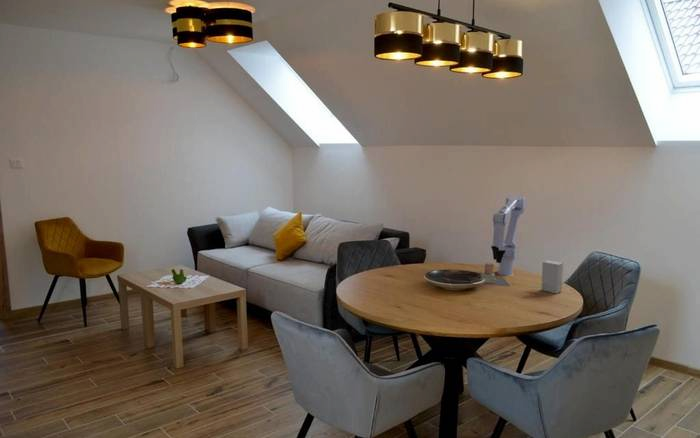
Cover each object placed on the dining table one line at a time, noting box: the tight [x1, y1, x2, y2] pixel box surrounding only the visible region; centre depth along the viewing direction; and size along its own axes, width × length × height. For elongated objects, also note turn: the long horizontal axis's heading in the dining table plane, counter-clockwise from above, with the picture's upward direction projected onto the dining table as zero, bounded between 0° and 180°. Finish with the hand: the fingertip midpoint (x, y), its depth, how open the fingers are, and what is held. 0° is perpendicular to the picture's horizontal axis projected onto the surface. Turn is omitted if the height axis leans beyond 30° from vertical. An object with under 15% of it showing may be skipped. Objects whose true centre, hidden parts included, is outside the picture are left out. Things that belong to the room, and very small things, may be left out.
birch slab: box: [479, 274, 497, 283], centre depth 278 cm, size 7×7×2 cm
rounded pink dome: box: [483, 262, 495, 275], centre depth 277 cm, size 4×4×5 cm
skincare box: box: [541, 260, 564, 294], centre depth 264 cm, size 8×6×15 cm
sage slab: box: [480, 271, 496, 279], centre depth 277 cm, size 6×6×2 cm
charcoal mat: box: [480, 277, 511, 287], centre depth 278 cm, size 16×20×1 cm
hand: (497, 261), depth 281 cm, fingers open, 7 cm apart
